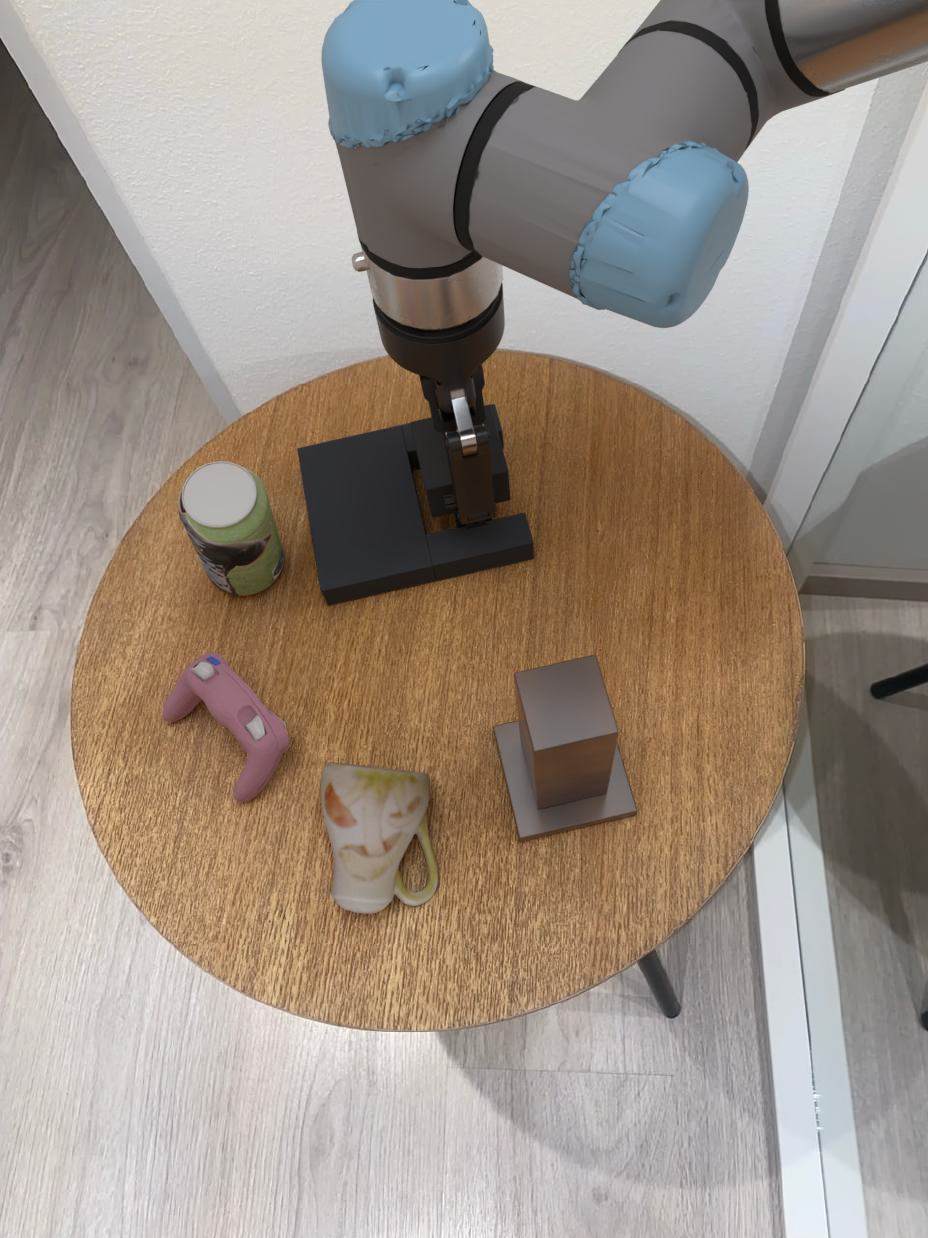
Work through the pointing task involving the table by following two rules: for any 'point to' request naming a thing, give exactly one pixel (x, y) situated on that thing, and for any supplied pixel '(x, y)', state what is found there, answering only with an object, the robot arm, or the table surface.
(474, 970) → the table surface
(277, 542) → the beverage can
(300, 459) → the base pad
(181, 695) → the video game controller
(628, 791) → the stand
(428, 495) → the black square block
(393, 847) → the mug
